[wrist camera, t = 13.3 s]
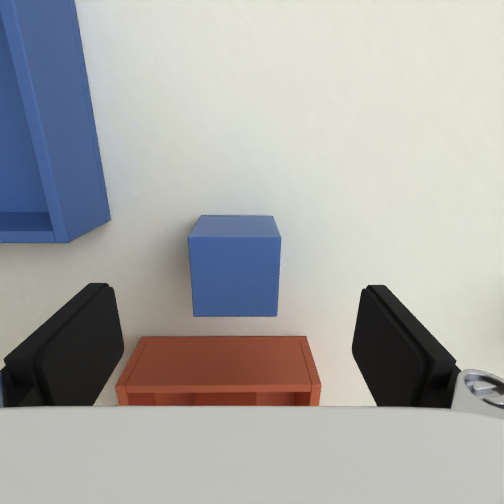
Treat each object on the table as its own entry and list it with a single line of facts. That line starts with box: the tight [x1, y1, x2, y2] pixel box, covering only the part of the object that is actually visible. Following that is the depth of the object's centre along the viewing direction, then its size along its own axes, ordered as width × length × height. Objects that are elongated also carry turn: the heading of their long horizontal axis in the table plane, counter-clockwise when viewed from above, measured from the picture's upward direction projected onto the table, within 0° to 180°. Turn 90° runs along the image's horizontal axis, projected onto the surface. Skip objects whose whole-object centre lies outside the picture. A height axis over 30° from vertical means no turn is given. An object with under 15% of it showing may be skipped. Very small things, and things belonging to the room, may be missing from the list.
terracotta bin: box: [115, 336, 321, 406], centre depth 21 cm, size 12×12×5 cm
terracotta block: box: [193, 392, 257, 406], centre depth 20 cm, size 4×4×4 cm
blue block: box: [188, 215, 281, 317], centre depth 17 cm, size 4×4×4 cm
